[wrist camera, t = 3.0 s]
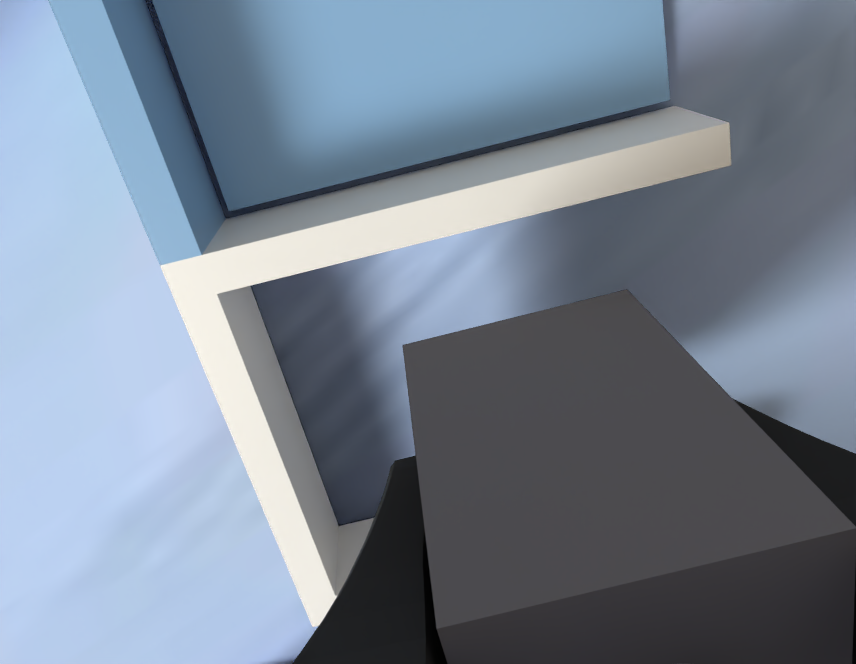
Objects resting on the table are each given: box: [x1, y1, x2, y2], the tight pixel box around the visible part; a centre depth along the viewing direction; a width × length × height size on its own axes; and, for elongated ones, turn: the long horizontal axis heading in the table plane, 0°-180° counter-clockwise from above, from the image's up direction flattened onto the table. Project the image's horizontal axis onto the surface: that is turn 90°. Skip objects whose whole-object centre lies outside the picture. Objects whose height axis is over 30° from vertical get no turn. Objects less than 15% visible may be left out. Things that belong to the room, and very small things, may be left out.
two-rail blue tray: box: [48, 0, 731, 627], centre depth 14 cm, size 18×11×2 cm, turn 13°
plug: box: [403, 290, 856, 664], centre depth 11 cm, size 4×4×8 cm
